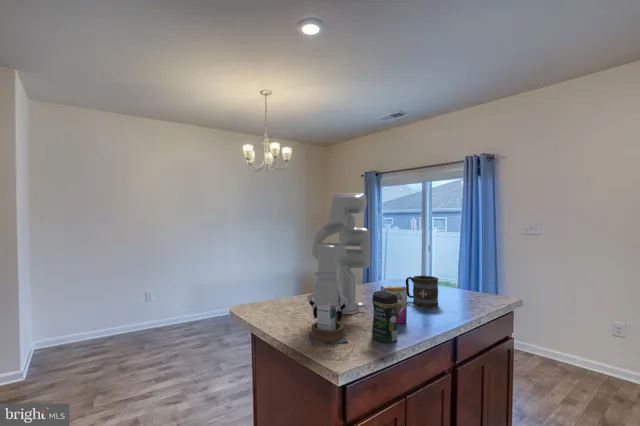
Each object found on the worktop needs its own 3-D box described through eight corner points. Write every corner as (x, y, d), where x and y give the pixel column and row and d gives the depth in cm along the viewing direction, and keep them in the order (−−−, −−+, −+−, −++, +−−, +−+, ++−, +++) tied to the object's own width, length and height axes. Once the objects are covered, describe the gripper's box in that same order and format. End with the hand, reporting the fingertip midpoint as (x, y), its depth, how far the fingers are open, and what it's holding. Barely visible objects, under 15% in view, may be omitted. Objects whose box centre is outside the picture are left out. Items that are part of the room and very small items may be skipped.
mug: (443, 305, 181) (443, 278, 181) (429, 310, 172) (429, 281, 172) (413, 298, 196) (413, 273, 196) (398, 302, 188) (398, 275, 188)
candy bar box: (383, 325, 148) (383, 288, 148) (379, 321, 153) (379, 285, 153) (407, 323, 150) (407, 287, 150) (402, 320, 155) (402, 285, 155)
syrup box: (329, 339, 129) (330, 301, 129) (316, 336, 132) (316, 300, 132) (336, 334, 134) (336, 298, 134) (323, 332, 137) (323, 297, 137)
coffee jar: (368, 337, 132) (368, 291, 133) (382, 333, 137) (382, 288, 137) (387, 345, 125) (387, 295, 125) (401, 340, 130) (401, 292, 130)
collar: (340, 330, 140) (340, 320, 140) (348, 342, 127) (348, 331, 127) (308, 332, 138) (308, 321, 138) (312, 344, 125) (312, 332, 125)
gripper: (304, 276, 133) (303, 319, 132) (345, 279, 126) (345, 324, 126) (311, 273, 140) (311, 314, 139) (351, 275, 133) (351, 318, 133)
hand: (327, 318), depth 133 cm, fingers open, 9 cm apart
